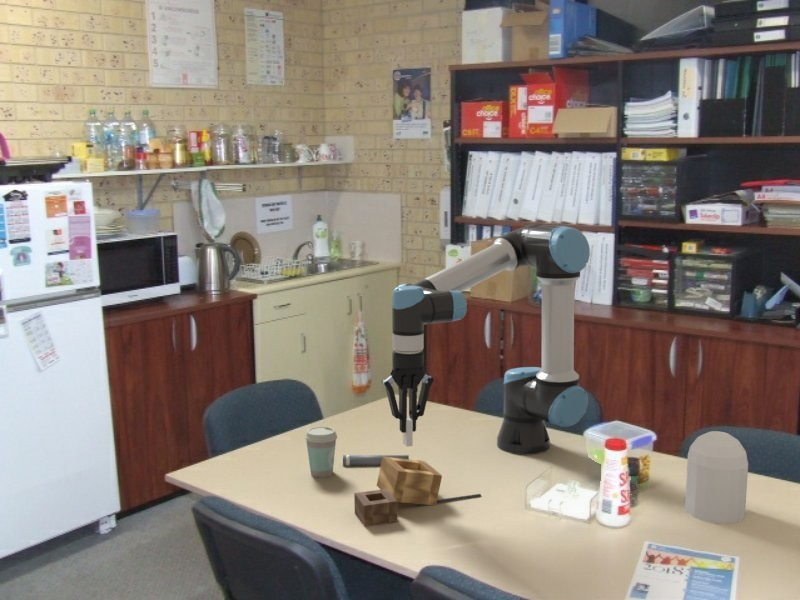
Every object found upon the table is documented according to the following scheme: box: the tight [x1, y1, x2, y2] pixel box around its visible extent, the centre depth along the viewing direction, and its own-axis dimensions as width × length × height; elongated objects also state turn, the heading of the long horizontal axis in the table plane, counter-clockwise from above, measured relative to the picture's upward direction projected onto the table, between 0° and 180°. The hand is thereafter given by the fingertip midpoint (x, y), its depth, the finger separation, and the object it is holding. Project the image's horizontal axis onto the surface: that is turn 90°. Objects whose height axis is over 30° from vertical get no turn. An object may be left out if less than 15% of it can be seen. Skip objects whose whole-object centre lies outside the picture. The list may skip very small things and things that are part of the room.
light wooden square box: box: [376, 457, 443, 506], centre depth 213 cm, size 12×12×8 cm
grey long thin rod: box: [417, 493, 482, 507], centre depth 212 cm, size 17×1×1 cm, turn 109°
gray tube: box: [342, 454, 410, 467], centre depth 237 cm, size 3×3×18 cm
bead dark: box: [353, 489, 398, 527], centre depth 202 cm, size 8×8×5 cm
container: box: [684, 430, 749, 525], centre depth 203 cm, size 13×13×20 cm
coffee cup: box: [304, 426, 338, 478], centre depth 230 cm, size 9×8×12 cm
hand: (407, 444), depth 212 cm, fingers closed
